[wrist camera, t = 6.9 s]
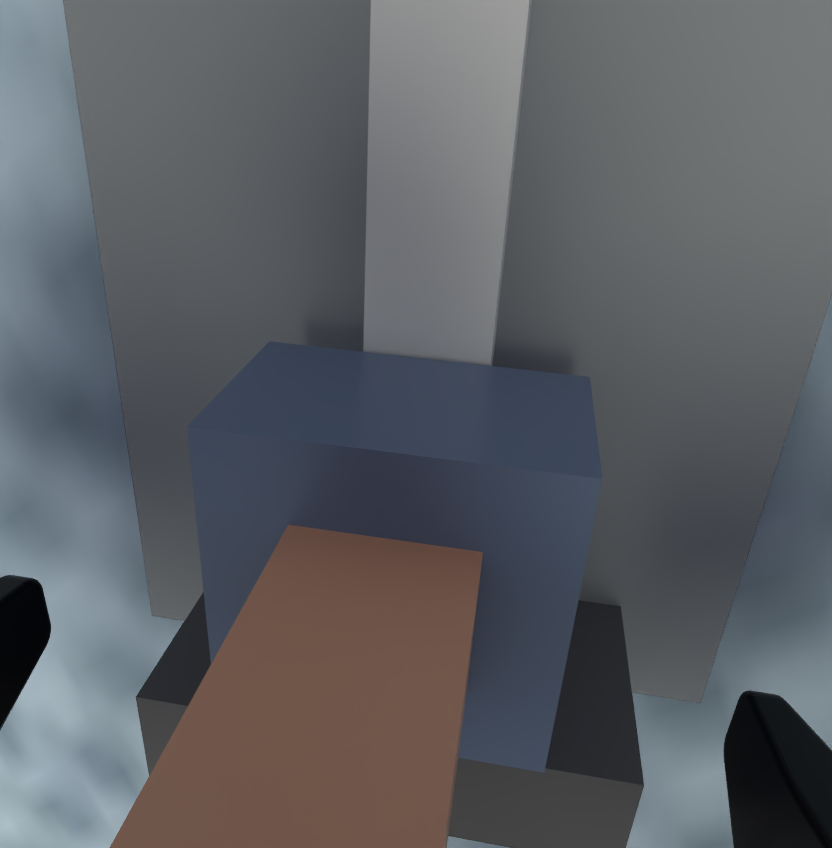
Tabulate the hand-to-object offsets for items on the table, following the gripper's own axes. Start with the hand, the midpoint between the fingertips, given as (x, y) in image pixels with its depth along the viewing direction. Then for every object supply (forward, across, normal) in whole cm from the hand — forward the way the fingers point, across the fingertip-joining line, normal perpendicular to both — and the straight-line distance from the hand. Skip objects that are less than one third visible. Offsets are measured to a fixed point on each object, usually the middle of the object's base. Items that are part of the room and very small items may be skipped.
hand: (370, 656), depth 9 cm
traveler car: (+4, 0, 0) cm, 4 cm away
